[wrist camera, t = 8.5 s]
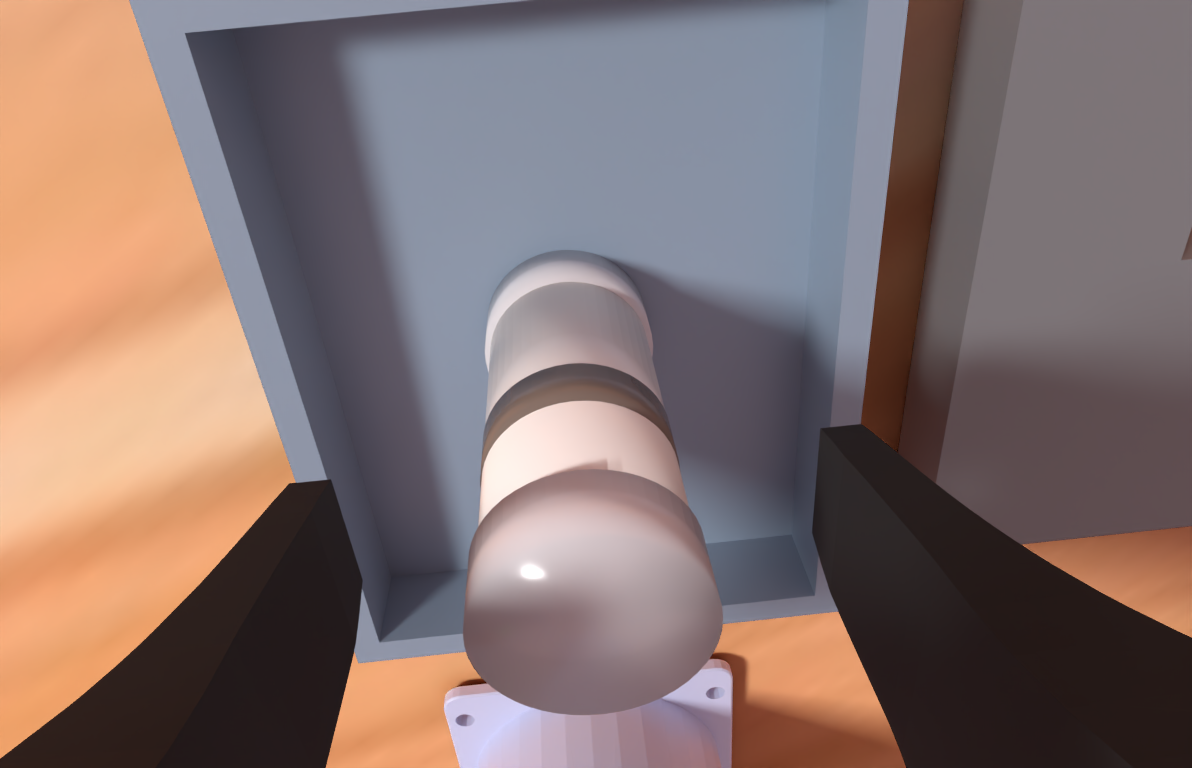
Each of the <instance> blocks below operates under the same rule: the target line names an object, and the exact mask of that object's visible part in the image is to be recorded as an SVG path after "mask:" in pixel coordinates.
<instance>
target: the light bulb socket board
mask: <svg viewBox="0 0 1192 768" xmlns="http://www.w3.org/2000/svg"><path fill="white" fill-rule="evenodd" d="M898 454H899V455H901V456H902V457H903V458H904V459H906V460H907V461H908V462H909V463H911V464H912V465H913V466H914V467H916V468H917V469H918V470H919V471H921V472H922V473H923V474H924V475H926V476H927V477H928V478H929V479H931V480H932V481H933V482H935V483H936V484H937V485H938V486H940V487H941V488H942V489H944V490H945V491H946V492H947V493H949V494H950V495H951V496H953V497H954V498H955V499H957V500H958V501H959V502H961V503H962V504H963V505H965V506H966V507H967V508H969V509H970V510H972V511H973V512H974V513H976V514H977V515H979V516H980V517H981V518H983V519H984V520H985V521H987V522H988V523H990V524H991V525H993V526H994V527H996V528H997V529H999V530H1000V531H1001V532H1003V533H1004V534H1006V535H1007V536H1009V537H1010V538H1012V539H1013V540H1015V541H1016V542H1018V543H1019V544H1029V543H1038V542H1048V541H1057V540H1066V539H1076V538H1085V537H1094V536H1104V535H1113V534H1122V533H1132V532H1141V531H1150V530H1160V529H1169V528H1178V527H1188V526H1192V0H964V3H963V9H962V16H961V23H960V30H959V37H958V44H957V51H956V57H955V64H954V71H953V78H952V85H951V92H950V98H949V105H948V112H947V119H946V126H945V133H944V139H943V146H942V153H941V160H940V167H939V174H938V181H937V187H936V194H935V201H934V208H933V215H932V222H931V228H930V235H929V242H928V249H927V256H926V263H925V269H924V276H923V283H922V290H921V297H920V304H919V310H918V317H917V324H916V331H915V338H914V345H913V352H912V358H911V365H910V372H909V379H908V386H907V393H906V399H905V406H904V413H903V420H902V427H901V434H900V440H899V447H898Z"/></svg>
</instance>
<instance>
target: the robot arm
mask: <svg viewBox="0 0 1192 768" xmlns="http://www.w3.org/2000/svg"><path fill="white" fill-rule="evenodd" d="M812 534H813V538H814V541H815V545H816V548H817V551H818V555H819V558H820V562H821V565H822V568H823V572H824V575H825V578H826V581H827V584H828V587H829V590H830V593H831V596H832V598H833V600H834V602H835V605H836V607H837V609H838V612H839V614H840V616H841V618H842V621H843V623H844V625H845V627H846V629H847V632H848V634H849V636H850V638H851V641H852V643H853V645H854V647H855V649H856V652H857V654H858V656H859V658H860V660H861V663H862V665H863V667H864V669H865V671H866V674H867V676H868V678H869V680H870V682H871V685H872V687H873V689H874V691H875V693H876V696H877V698H878V700H879V702H880V704H881V707H882V709H883V711H884V713H885V715H886V718H887V720H888V722H889V724H890V727H891V729H892V732H893V734H894V736H895V739H896V741H897V744H898V746H899V749H900V751H901V754H902V757H903V759H904V762H905V765H906V768H1192V638H1191V637H1189V636H1187V635H1185V634H1182V633H1180V632H1178V631H1176V630H1174V629H1172V628H1170V627H1168V626H1166V625H1164V624H1162V623H1160V622H1158V621H1156V620H1154V619H1152V618H1150V617H1148V616H1146V615H1144V614H1142V613H1139V612H1137V611H1135V610H1133V609H1131V608H1129V607H1127V606H1125V605H1124V604H1122V603H1120V602H1118V601H1116V600H1114V599H1112V598H1110V597H1108V596H1106V595H1105V594H1103V593H1101V592H1099V591H1097V590H1095V589H1094V588H1092V587H1090V586H1089V585H1087V584H1085V583H1083V582H1082V581H1080V580H1078V579H1076V578H1075V577H1073V576H1071V575H1070V574H1068V573H1066V572H1064V571H1063V570H1061V569H1059V568H1057V567H1056V566H1054V565H1052V564H1051V563H1049V562H1047V561H1046V560H1044V559H1043V558H1041V557H1039V556H1038V555H1036V554H1035V553H1033V552H1031V551H1030V550H1028V549H1027V548H1025V547H1024V546H1022V545H1021V544H1019V543H1018V542H1016V541H1015V540H1013V539H1012V538H1010V537H1009V536H1007V535H1006V534H1004V533H1003V532H1001V531H1000V530H999V529H997V528H996V527H994V526H993V525H991V524H990V523H988V522H987V521H985V520H984V519H983V518H981V517H980V516H979V515H977V514H976V513H974V512H973V511H972V510H970V509H969V508H967V507H966V506H965V505H963V504H962V503H961V502H959V501H958V500H957V499H955V498H954V497H953V496H951V495H950V494H949V493H947V492H946V491H945V490H944V489H942V488H941V487H940V486H938V485H937V484H936V483H935V482H933V481H932V480H931V479H929V478H928V477H927V476H926V475H924V474H923V473H922V472H921V471H919V470H918V469H917V468H916V467H914V466H913V465H912V464H911V463H909V462H908V461H907V460H906V459H904V458H903V457H902V456H901V455H899V454H898V453H897V452H896V451H895V450H893V449H892V448H891V447H890V446H888V445H887V444H886V443H885V442H884V441H882V440H881V439H880V438H879V437H877V436H876V435H875V434H874V433H872V432H871V431H870V430H869V429H867V428H866V427H865V426H863V425H862V424H856V425H846V426H837V427H827V428H820V438H819V451H818V463H817V476H816V488H815V500H814V513H813V525H812ZM362 583H363V579H362V576H361V573H360V570H359V566H358V563H357V560H356V557H355V554H354V551H353V547H352V544H351V541H350V538H349V535H348V531H347V528H346V525H345V522H344V519H343V516H342V512H341V509H340V506H339V503H338V500H337V496H336V493H335V490H334V487H333V484H332V481H331V479H328V480H319V481H309V482H299V483H290V484H289V485H288V486H287V487H286V488H285V489H284V490H283V491H282V492H281V493H280V494H279V496H278V497H277V498H276V499H275V500H274V501H273V502H272V503H271V505H270V506H269V507H268V508H267V509H266V510H265V512H264V513H263V514H262V515H261V516H260V517H259V518H258V520H257V521H256V522H255V523H254V524H253V525H252V526H251V528H250V529H249V530H248V531H247V532H246V533H245V534H244V536H243V537H242V538H241V539H240V540H239V541H238V542H237V544H236V545H235V546H234V547H233V548H232V549H231V550H230V551H229V553H228V554H227V555H226V556H225V557H224V558H223V559H222V560H221V561H220V563H219V564H218V565H217V566H216V567H215V568H214V569H213V570H212V571H211V573H210V574H209V575H208V576H207V577H206V578H205V579H204V580H203V581H202V582H201V584H200V585H199V586H198V587H197V588H196V589H195V590H194V591H193V592H192V593H191V594H190V595H189V596H188V597H187V598H186V599H185V600H184V601H183V602H182V603H181V604H180V605H179V606H178V607H177V608H176V609H175V610H174V611H173V612H172V613H171V614H170V615H169V616H168V617H167V618H166V619H165V620H164V621H163V622H162V623H161V624H160V625H159V626H158V627H157V628H156V629H155V630H154V631H153V632H152V633H151V634H150V635H149V636H148V637H147V638H146V639H145V640H144V641H143V642H142V643H141V644H140V645H139V646H138V647H137V648H136V649H134V650H133V651H132V652H131V653H130V654H129V655H128V656H127V657H126V658H125V659H123V660H122V661H121V662H120V663H119V664H118V665H117V666H116V667H115V668H113V669H112V670H111V671H110V672H109V673H108V674H106V675H105V676H104V677H103V678H102V679H101V680H99V681H98V682H97V683H96V684H95V685H94V686H93V687H91V688H90V689H89V690H88V691H87V692H86V693H84V694H83V695H82V696H81V697H80V698H78V699H77V700H76V701H75V702H73V703H72V704H71V705H70V706H69V707H67V708H66V709H65V710H63V711H62V712H61V713H59V714H58V715H57V716H55V717H54V718H53V719H52V720H50V721H49V722H48V723H46V724H45V725H44V726H42V727H41V728H40V729H39V730H37V731H36V732H35V733H33V734H32V735H31V736H29V737H28V738H27V739H25V740H24V741H23V742H22V743H20V744H19V745H18V746H16V747H15V748H14V749H12V750H11V751H10V752H9V753H7V754H6V755H5V756H3V757H2V758H1V759H0V768H326V764H327V760H328V756H329V752H330V748H331V744H332V739H333V735H334V731H335V727H336V723H337V719H338V715H339V711H340V707H341V703H342V699H343V695H344V691H345V687H346V683H347V679H348V675H349V671H350V666H351V662H352V658H353V654H354V649H355V645H356V638H357V630H358V622H359V614H360V604H361V593H362ZM732 705H733V676H732V672H731V668H730V665H729V664H728V663H727V662H726V661H723V660H720V659H709V660H708V661H707V663H706V664H705V665H704V666H703V667H702V669H701V670H700V671H699V672H698V673H697V674H696V675H695V676H694V677H692V678H691V679H690V680H689V681H688V682H687V683H685V684H684V685H682V686H681V687H679V688H678V689H676V690H675V691H673V692H671V693H670V694H668V695H666V696H664V697H662V698H660V699H658V700H655V701H653V702H651V703H648V704H645V705H642V706H639V707H636V708H633V709H629V710H625V711H620V712H615V713H608V714H599V715H567V714H557V713H552V712H546V711H541V710H538V709H535V708H531V707H528V706H525V705H523V704H520V703H518V702H515V701H513V700H511V699H510V698H508V697H506V696H504V695H502V694H501V693H499V692H498V691H496V690H495V689H494V688H492V687H491V686H490V685H489V684H488V683H486V684H477V685H468V686H459V687H455V688H453V689H451V690H450V691H448V692H447V694H446V695H445V702H444V711H445V715H446V718H447V722H448V726H449V729H450V733H451V737H452V740H453V744H454V748H455V751H456V755H457V758H458V762H459V766H460V768H731V765H732Z"/></svg>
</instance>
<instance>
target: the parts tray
mask: <svg viewBox="0 0 1192 768" xmlns="http://www.w3.org/2000/svg"><path fill="white" fill-rule="evenodd" d="M129 1H130V4H131V7H132V10H133V13H134V16H135V19H136V22H137V24H138V27H139V30H140V33H141V36H142V39H143V42H144V45H145V48H146V50H147V53H148V56H149V59H150V62H151V65H152V68H153V71H154V74H155V76H156V79H157V82H158V85H159V88H160V91H161V94H162V97H163V100H164V102H165V105H166V108H167V111H168V114H169V117H170V120H171V123H172V126H173V128H174V131H175V134H176V137H177V140H178V143H179V146H180V149H181V152H182V154H183V157H184V160H185V163H186V166H187V169H188V172H189V175H190V178H191V180H192V183H193V186H194V189H195V192H196V195H197V198H198V201H199V204H200V206H201V209H202V212H203V215H204V218H205V221H206V224H207V227H208V230H209V232H210V235H211V238H212V241H213V244H214V247H215V250H216V253H217V256H218V258H219V261H220V264H221V267H222V270H223V273H224V276H225V279H226V282H227V284H228V287H229V290H230V293H231V296H232V299H233V302H234V305H235V308H236V311H237V313H238V316H239V319H240V322H241V325H242V328H243V331H244V334H245V337H246V339H247V342H248V345H249V348H250V351H251V354H252V357H253V360H254V363H255V365H256V368H257V371H258V374H259V377H260V380H261V383H262V386H263V389H264V391H265V394H266V397H267V400H268V403H269V406H270V409H271V412H272V415H273V417H274V420H275V423H276V426H277V429H278V432H279V435H280V438H281V441H282V443H283V446H284V449H285V452H286V455H287V458H288V461H289V464H290V467H291V469H292V472H293V475H294V478H295V481H296V483H299V482H309V481H319V480H328V479H331V481H332V484H333V487H334V490H335V493H336V496H337V500H338V503H339V506H340V509H341V512H342V516H343V519H344V522H345V525H346V528H347V531H348V535H349V538H350V541H351V544H352V547H353V551H354V554H355V557H356V560H357V563H358V566H359V570H360V573H361V576H362V579H363V583H362V593H361V604H360V614H359V622H358V630H357V638H356V645H355V649H354V652H355V654H356V657H357V660H358V663H366V662H375V661H384V660H393V659H403V658H412V657H421V656H430V655H440V654H449V653H458V652H466V650H465V647H464V640H463V622H464V609H465V596H466V584H467V571H468V558H469V550H470V546H471V542H472V539H473V537H474V534H475V532H476V530H477V528H478V524H479V509H480V495H481V488H480V475H481V460H482V446H483V433H484V429H485V421H486V406H487V391H488V376H489V372H488V369H487V365H486V359H485V341H486V329H487V316H488V309H489V304H490V301H491V299H492V296H493V294H494V292H495V290H496V288H497V286H498V285H499V284H500V282H501V281H502V280H503V278H504V277H505V276H506V275H507V274H508V273H509V272H510V271H511V270H513V269H514V268H515V267H516V266H518V265H519V264H521V263H522V262H524V261H526V260H527V259H530V258H532V257H534V256H537V255H539V254H543V253H546V252H551V251H557V250H579V251H585V252H589V253H593V254H596V255H599V256H602V257H604V258H606V259H608V260H610V261H611V262H613V263H614V264H616V265H617V266H619V267H620V268H621V269H622V270H624V271H625V272H626V273H627V274H628V275H629V277H630V278H631V279H632V280H633V282H634V283H635V285H636V286H637V288H638V290H639V292H640V294H641V296H642V299H643V303H644V307H645V310H646V314H647V318H648V322H649V326H650V330H651V334H652V340H653V356H652V360H653V364H654V368H655V372H656V376H657V380H658V384H659V388H660V392H661V396H662V400H663V404H664V408H665V411H666V414H667V416H668V420H669V423H670V427H671V431H672V435H673V439H674V443H675V447H676V451H677V455H678V459H679V464H680V473H681V477H682V481H683V485H684V489H685V493H686V497H687V501H688V505H689V508H690V509H691V511H692V512H693V513H694V515H695V516H696V518H697V520H698V522H699V524H700V526H701V528H702V532H703V535H704V539H705V543H706V546H707V550H708V554H709V558H710V562H711V566H712V570H713V574H714V577H715V581H716V585H717V589H718V593H719V597H720V601H721V604H722V611H723V624H727V623H736V622H745V621H755V620H764V619H773V618H782V617H792V616H801V615H810V614H819V613H829V612H838V609H837V607H836V605H835V602H834V600H833V598H832V596H831V593H830V590H829V587H828V584H827V581H826V578H825V575H824V572H823V568H822V565H821V562H820V558H819V555H818V551H817V548H816V545H815V541H814V538H813V534H812V525H813V513H814V500H815V488H816V476H817V463H818V451H819V438H820V428H827V427H837V426H846V425H856V424H861V416H862V408H863V399H864V390H865V381H866V372H867V364H868V355H869V346H870V337H871V328H872V320H873V311H874V302H875V293H876V284H877V276H878V267H879V258H880V249H881V241H882V232H883V223H884V214H885V205H886V197H887V188H888V179H889V170H890V161H891V153H892V144H893V135H894V126H895V117H896V109H897V100H898V91H899V82H900V73H901V65H902V56H903V47H904V38H905V29H906V21H907V12H908V3H909V0H129Z"/></svg>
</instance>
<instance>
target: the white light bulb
mask: <svg viewBox="0 0 1192 768" xmlns="http://www.w3.org/2000/svg"><path fill="white" fill-rule="evenodd" d="M652 356H653V340H652V334H651V330H650V326H649V322H648V318H647V314H646V310H645V307H644V303H643V299H642V296H641V294H640V292H639V290H638V288H637V286H636V285H635V283H634V282H633V280H632V279H631V278H630V277H629V275H628V274H627V273H626V272H625V271H624V270H622V269H621V268H620V267H619V266H617V265H616V264H614V263H613V262H611V261H610V260H608V259H606V258H604V257H602V256H599V255H596V254H593V253H589V252H585V251H579V250H557V251H551V252H546V253H543V254H539V255H537V256H534V257H532V258H530V259H527V260H526V261H524V262H522V263H521V264H519V265H518V266H516V267H515V268H514V269H513V270H511V271H510V272H509V273H508V274H507V275H506V276H505V277H504V278H503V280H502V281H501V282H500V284H499V285H498V286H497V288H496V290H495V292H494V294H493V296H492V299H491V301H490V304H489V309H488V316H487V329H486V341H485V359H486V365H487V369H488V372H489V376H488V391H487V406H486V421H485V429H484V433H483V446H482V460H481V475H480V488H481V495H480V509H479V524H478V528H477V530H476V532H475V534H474V537H473V539H472V542H471V546H470V550H469V558H468V571H467V584H466V596H465V609H464V622H463V640H464V647H465V650H466V653H467V656H468V658H469V660H470V662H471V664H472V665H473V667H474V669H475V670H476V671H477V673H478V674H479V675H480V676H481V678H482V679H483V680H484V681H486V682H487V683H488V684H489V685H490V686H491V687H492V688H494V689H495V690H496V691H498V692H499V693H501V694H502V695H504V696H506V697H508V698H510V699H511V700H513V701H515V702H518V703H520V704H523V705H525V706H528V707H531V708H535V709H538V710H541V711H546V712H552V713H557V714H567V715H599V714H608V713H615V712H620V711H625V710H629V709H633V708H636V707H639V706H642V705H645V704H648V703H651V702H653V701H655V700H658V699H660V698H662V697H664V696H666V695H668V694H670V693H671V692H673V691H675V690H676V689H678V688H679V687H681V686H682V685H684V684H685V683H687V682H688V681H689V680H690V679H691V678H692V677H694V676H695V675H696V674H697V673H698V672H699V671H700V670H701V669H702V667H703V666H704V665H705V664H706V663H707V661H708V660H709V658H710V657H711V656H712V654H713V653H714V650H715V648H716V646H717V644H718V642H719V639H720V635H721V632H722V625H723V611H722V604H721V601H720V597H719V593H718V589H717V585H716V581H715V577H714V574H713V570H712V566H711V562H710V558H709V554H708V550H707V546H706V543H705V539H704V535H703V532H702V528H701V526H700V524H699V522H698V520H697V518H696V516H695V515H694V513H693V512H692V511H691V509H690V508H689V505H688V501H687V497H686V493H685V489H684V485H683V481H682V477H681V473H680V464H679V459H678V455H677V451H676V447H675V443H674V439H673V435H672V431H671V427H670V423H669V420H668V416H667V414H666V411H665V408H664V404H663V400H662V396H661V392H660V388H659V384H658V380H657V376H656V372H655V368H654V364H653V360H652Z"/></svg>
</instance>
